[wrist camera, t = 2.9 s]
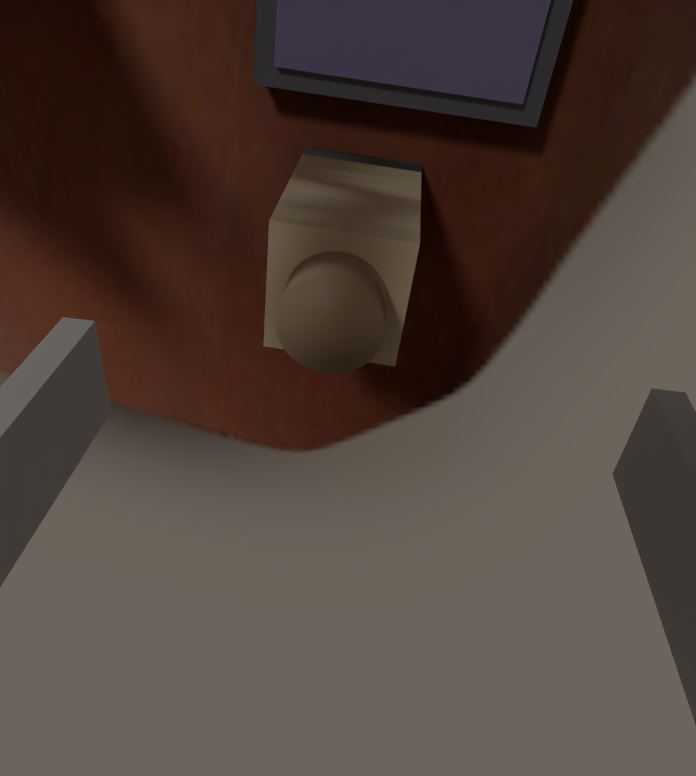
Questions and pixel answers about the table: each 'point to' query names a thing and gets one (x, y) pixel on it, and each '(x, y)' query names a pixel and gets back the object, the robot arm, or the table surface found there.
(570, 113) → the table surface
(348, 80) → the ink pad
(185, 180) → the table surface
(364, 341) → the stamp
